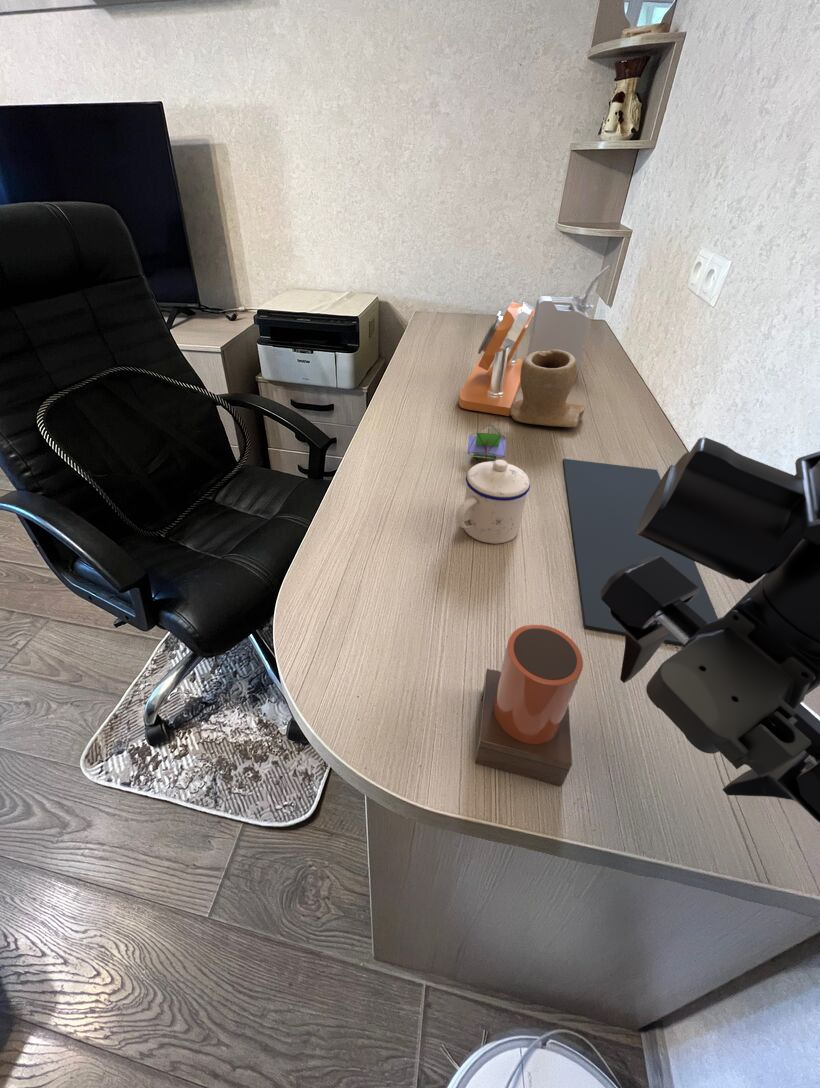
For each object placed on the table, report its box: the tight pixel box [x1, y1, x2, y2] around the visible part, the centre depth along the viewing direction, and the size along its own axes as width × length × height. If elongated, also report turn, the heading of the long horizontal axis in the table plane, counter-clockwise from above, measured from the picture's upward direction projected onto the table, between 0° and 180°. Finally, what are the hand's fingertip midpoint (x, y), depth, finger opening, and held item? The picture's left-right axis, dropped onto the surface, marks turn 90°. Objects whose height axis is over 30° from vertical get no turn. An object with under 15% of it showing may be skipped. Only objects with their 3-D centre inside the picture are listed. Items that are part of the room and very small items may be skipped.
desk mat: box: [562, 458, 719, 647], centre depth 75 cm, size 40×16×1 cm, turn 166°
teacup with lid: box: [455, 459, 531, 545], centre depth 73 cm, size 12×9×12 cm
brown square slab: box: [474, 668, 573, 787], centre depth 49 cm, size 8×8×4 cm
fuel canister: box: [526, 265, 612, 372], centre depth 124 cm, size 15×5×25 cm, turn 80°
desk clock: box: [458, 301, 535, 417], centre depth 115 cm, size 12×30×20 cm, turn 159°
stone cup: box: [509, 349, 586, 428], centre depth 101 cm, size 15×12×15 cm
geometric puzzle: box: [466, 423, 507, 462], centre depth 91 cm, size 7×7×8 cm
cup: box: [493, 623, 584, 744], centre depth 45 cm, size 6×6×9 cm
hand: (672, 730), depth 39 cm, fingers open, 9 cm apart
